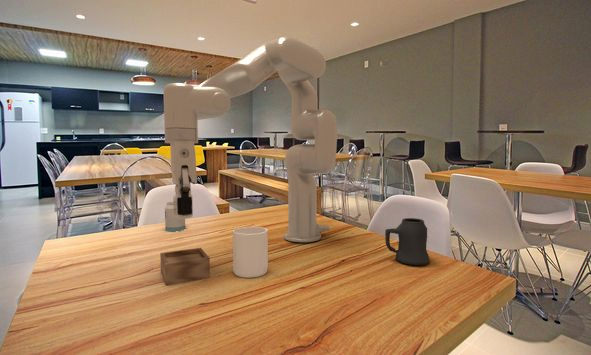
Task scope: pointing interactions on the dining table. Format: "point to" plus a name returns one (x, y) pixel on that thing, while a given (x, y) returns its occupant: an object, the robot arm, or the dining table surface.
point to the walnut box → (184, 266)
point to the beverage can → (172, 220)
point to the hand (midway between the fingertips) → (183, 211)
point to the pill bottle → (176, 207)
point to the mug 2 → (410, 242)
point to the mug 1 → (250, 251)
